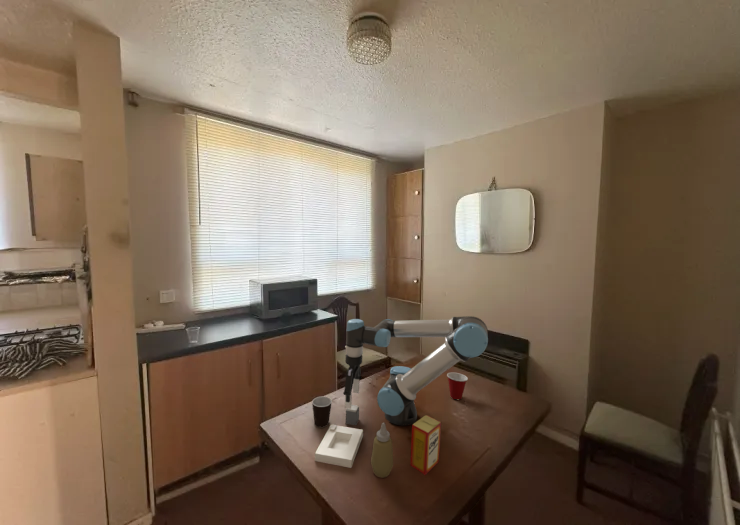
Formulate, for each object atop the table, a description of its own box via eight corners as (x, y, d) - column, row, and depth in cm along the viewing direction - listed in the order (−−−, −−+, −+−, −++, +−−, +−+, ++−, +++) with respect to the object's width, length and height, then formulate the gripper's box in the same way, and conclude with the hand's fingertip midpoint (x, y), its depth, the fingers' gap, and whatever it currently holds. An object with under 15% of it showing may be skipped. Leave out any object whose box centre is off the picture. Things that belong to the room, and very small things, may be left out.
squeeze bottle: (369, 463, 112) (371, 417, 110) (391, 462, 112) (393, 416, 111) (371, 481, 104) (373, 431, 102) (394, 480, 104) (396, 430, 103)
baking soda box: (425, 475, 107) (427, 432, 106) (410, 465, 112) (412, 423, 110) (439, 461, 114) (441, 420, 113) (424, 452, 119) (426, 413, 117)
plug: (358, 419, 139) (359, 405, 138) (356, 425, 134) (356, 410, 134) (348, 418, 140) (348, 403, 139) (345, 423, 135) (345, 409, 135)
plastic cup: (470, 397, 162) (471, 376, 161) (460, 405, 154) (461, 382, 153) (452, 390, 169) (453, 369, 168) (441, 396, 162) (442, 375, 161)
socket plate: (362, 436, 127) (362, 427, 127) (351, 467, 109) (351, 458, 109) (330, 431, 130) (331, 422, 129) (314, 460, 112) (315, 451, 112)
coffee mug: (327, 430, 130) (328, 408, 130) (308, 427, 132) (309, 405, 131) (335, 415, 142) (336, 394, 141) (318, 412, 143) (318, 392, 143)
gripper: (353, 344, 148) (351, 385, 149) (337, 364, 123) (335, 414, 125) (368, 345, 146) (366, 388, 148) (355, 366, 122) (353, 417, 124)
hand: (352, 400), depth 136 cm, fingers open, 13 cm apart
